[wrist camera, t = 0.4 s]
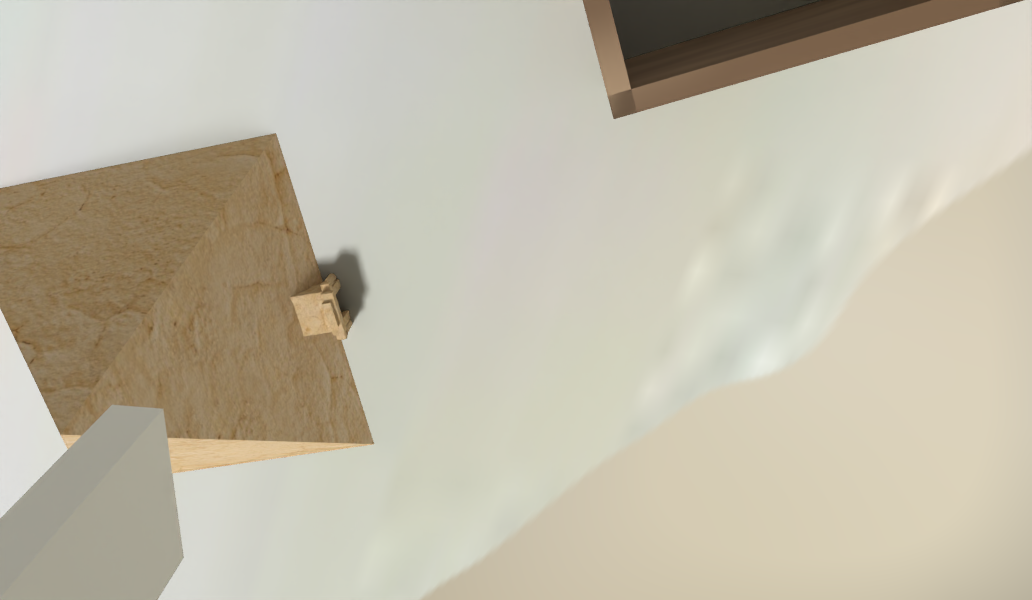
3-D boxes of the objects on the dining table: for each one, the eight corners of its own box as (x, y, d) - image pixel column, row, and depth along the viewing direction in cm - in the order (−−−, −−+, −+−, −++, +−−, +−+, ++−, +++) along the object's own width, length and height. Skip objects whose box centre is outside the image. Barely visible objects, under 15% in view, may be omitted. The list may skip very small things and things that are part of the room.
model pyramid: (394, 441, 43) (346, 578, 34) (88, 485, 45) (-36, 624, 36) (297, 121, 37) (204, 182, 28) (-53, 192, 39) (-245, 270, 30)
